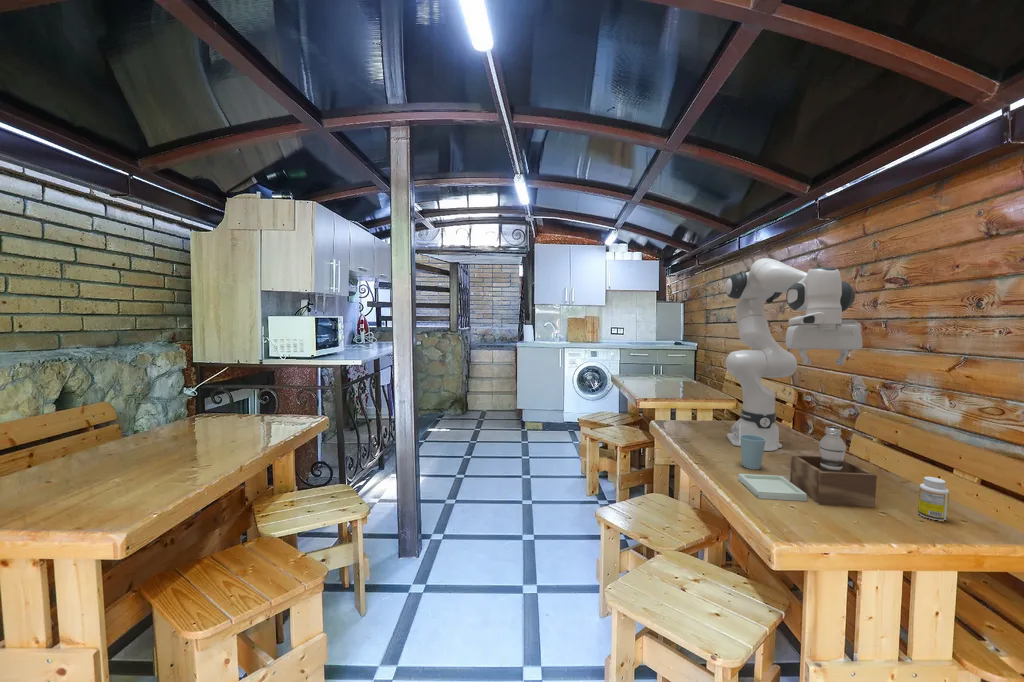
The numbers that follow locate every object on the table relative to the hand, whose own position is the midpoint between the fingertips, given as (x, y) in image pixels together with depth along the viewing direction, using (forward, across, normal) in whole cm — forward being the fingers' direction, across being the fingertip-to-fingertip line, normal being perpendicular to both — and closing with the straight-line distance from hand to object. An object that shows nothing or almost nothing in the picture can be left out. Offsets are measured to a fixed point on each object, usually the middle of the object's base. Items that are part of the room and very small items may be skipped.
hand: (823, 364), depth 129 cm
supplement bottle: (+40, -18, +15) cm, 46 cm away
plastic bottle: (+38, 0, +3) cm, 39 cm away
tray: (+38, +16, +2) cm, 41 cm away
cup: (+37, +13, -18) cm, 43 cm away
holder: (+38, 0, +3) cm, 38 cm away
